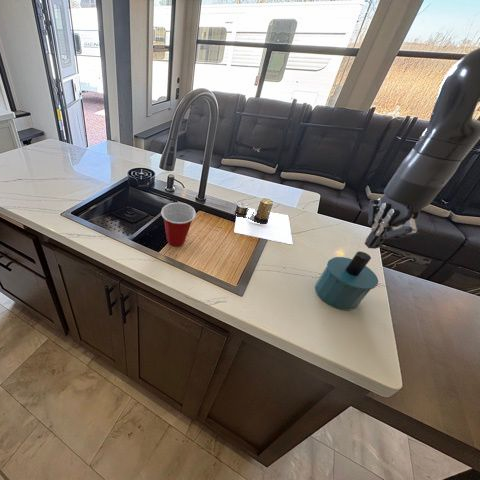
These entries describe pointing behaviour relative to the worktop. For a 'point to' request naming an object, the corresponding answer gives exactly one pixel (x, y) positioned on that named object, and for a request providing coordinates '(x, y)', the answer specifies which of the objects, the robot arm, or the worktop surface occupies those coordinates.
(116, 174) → the worktop surface
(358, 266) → the lid
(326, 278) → the canister
